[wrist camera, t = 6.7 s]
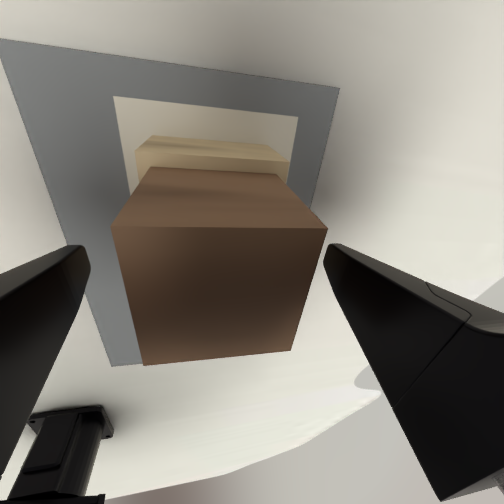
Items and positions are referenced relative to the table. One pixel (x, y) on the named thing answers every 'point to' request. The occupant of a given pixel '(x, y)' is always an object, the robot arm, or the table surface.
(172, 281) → the walnut cube
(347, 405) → the table surface
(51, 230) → the table surface
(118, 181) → the mat
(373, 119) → the table surface
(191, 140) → the oak base block
